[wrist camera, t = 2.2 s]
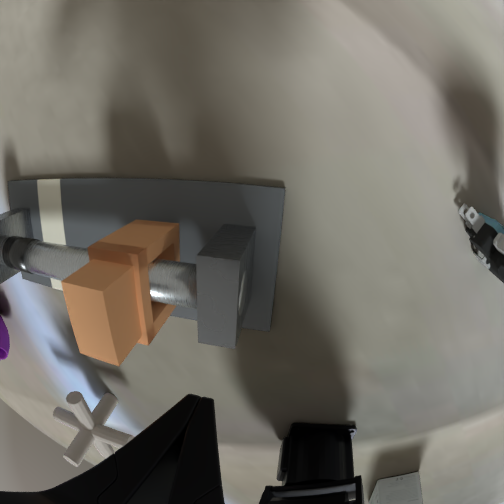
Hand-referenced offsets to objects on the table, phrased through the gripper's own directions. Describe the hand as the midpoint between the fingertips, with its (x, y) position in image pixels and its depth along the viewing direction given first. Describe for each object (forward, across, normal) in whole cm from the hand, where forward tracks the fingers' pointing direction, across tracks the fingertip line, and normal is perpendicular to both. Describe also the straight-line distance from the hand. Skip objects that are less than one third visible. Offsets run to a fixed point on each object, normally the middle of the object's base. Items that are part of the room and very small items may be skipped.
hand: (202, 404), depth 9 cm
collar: (+10, +6, 0) cm, 12 cm away
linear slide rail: (+12, +11, 0) cm, 16 cm away
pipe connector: (+12, +15, +19) cm, 27 cm away
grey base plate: (+12, +11, 0) cm, 16 cm away
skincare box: (+12, -23, +34) cm, 43 cm away
